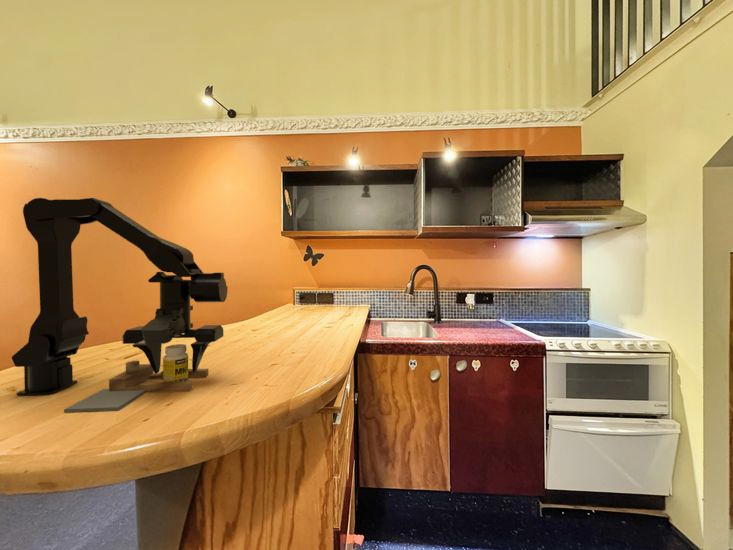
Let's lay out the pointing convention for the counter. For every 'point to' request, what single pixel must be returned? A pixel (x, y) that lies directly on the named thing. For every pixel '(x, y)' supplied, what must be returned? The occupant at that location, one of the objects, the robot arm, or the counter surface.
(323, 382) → the counter surface
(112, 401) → the mat
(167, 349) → the supplement bottle
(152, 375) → the plane body
